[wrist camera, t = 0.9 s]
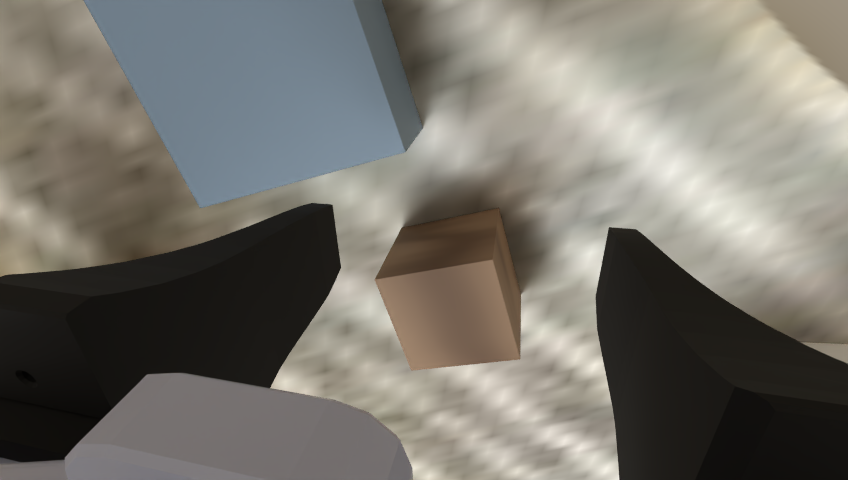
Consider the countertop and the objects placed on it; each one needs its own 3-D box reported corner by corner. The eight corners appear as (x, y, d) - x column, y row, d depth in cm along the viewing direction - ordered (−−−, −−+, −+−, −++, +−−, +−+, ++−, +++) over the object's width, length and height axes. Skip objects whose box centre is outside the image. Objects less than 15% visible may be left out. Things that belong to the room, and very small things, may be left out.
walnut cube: (430, 306, 26) (411, 370, 21) (402, 227, 24) (374, 279, 19) (520, 293, 24) (520, 359, 20) (498, 207, 22) (492, 259, 18)
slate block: (246, 177, 24) (200, 208, 21) (140, -32, 20) (62, -37, 17) (424, 125, 21) (405, 151, 18) (341, -132, 17) (296, -163, 14)
